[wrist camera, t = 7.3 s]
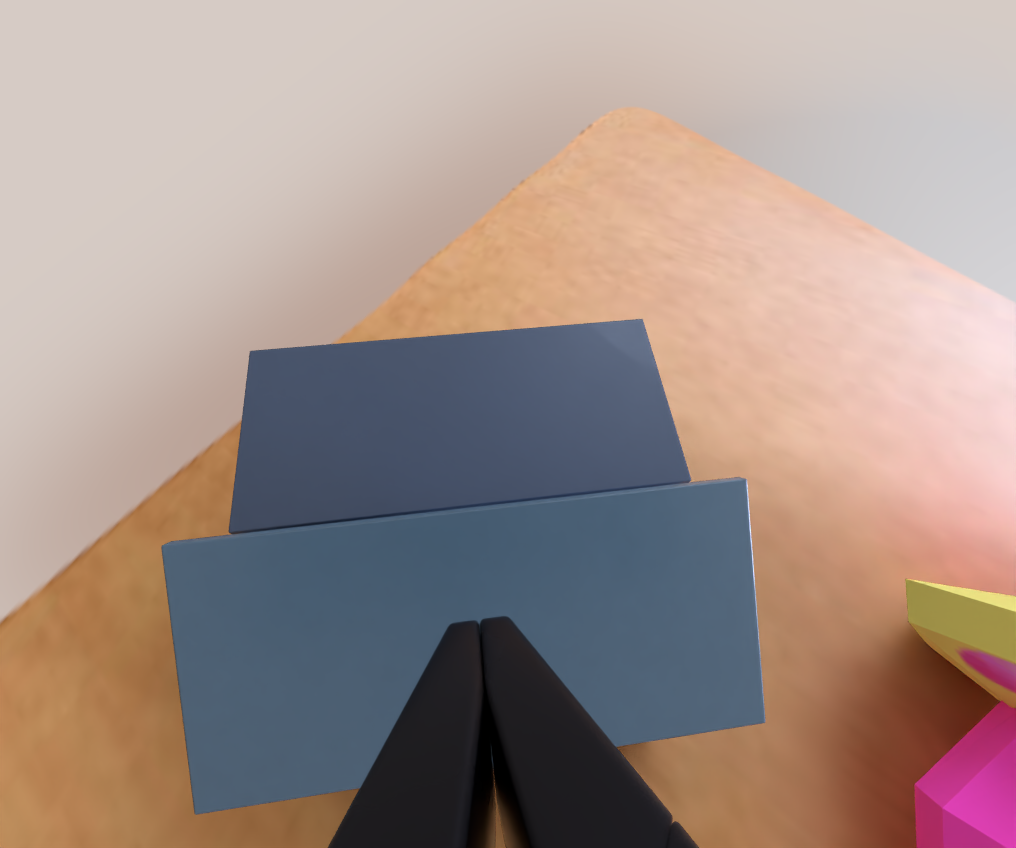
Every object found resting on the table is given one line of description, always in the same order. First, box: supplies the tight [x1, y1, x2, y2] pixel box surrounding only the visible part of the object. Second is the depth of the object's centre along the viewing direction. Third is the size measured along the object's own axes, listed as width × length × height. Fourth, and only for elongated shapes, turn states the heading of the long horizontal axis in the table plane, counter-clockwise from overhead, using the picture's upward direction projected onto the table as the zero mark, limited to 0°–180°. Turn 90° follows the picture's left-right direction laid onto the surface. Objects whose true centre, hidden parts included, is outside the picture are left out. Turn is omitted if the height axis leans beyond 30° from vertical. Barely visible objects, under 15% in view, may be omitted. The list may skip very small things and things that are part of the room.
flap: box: [162, 477, 765, 815], centre depth 11 cm, size 6×13×1 cm, turn 99°
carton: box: [229, 319, 691, 534], centre depth 17 cm, size 12×13×8 cm
